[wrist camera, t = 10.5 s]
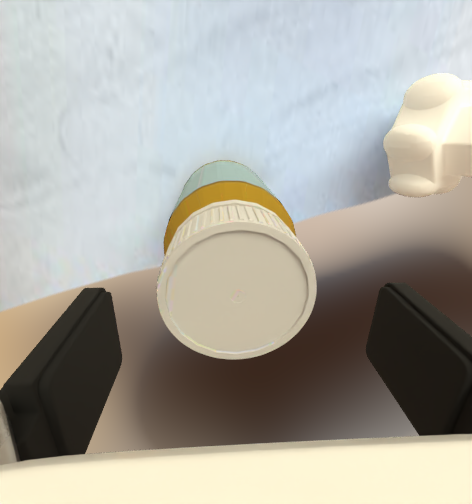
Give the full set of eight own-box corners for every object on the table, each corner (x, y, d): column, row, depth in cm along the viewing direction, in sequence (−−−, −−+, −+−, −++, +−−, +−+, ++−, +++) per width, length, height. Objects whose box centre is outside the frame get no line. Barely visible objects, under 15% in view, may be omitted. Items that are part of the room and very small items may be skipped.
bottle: (234, 141, 23) (266, 165, 9) (279, 211, 25) (358, 312, 12) (165, 192, 24) (102, 282, 10) (215, 254, 27) (218, 392, 13)
